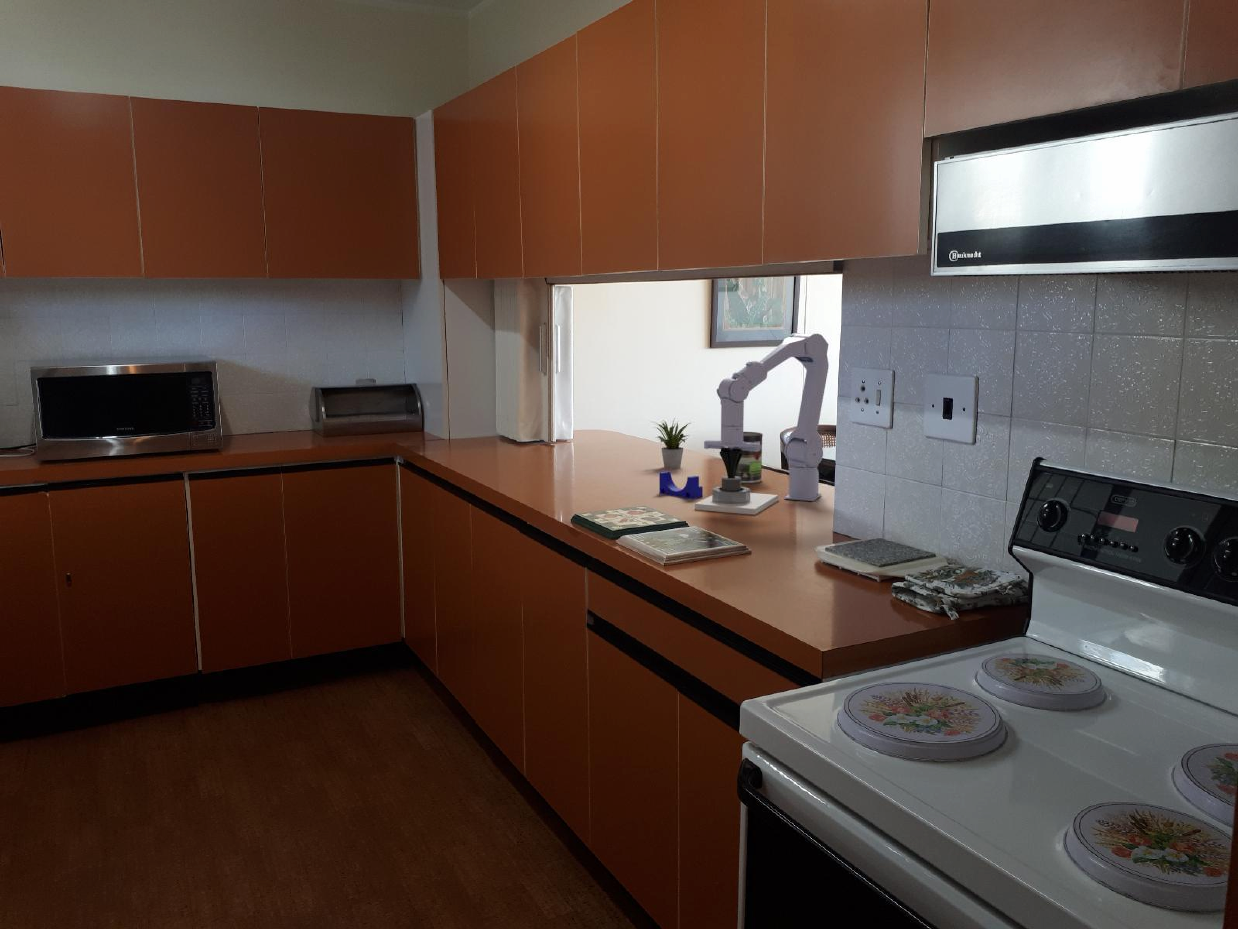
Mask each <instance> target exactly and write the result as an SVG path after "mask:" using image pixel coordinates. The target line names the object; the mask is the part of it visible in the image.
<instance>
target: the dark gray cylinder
mask: <svg viewBox="0 0 1238 929" xmlns="http://www.w3.org/2000/svg"><path fill="white" fill-rule="evenodd" d="M741 487H742V483H741V477H738V476H735V478H728V476H727V475H725V476H724V475H723V476H722V477H721V491H731V492H733V491H741Z"/></svg>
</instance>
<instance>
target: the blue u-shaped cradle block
mask: <svg viewBox="0 0 1238 929" xmlns="http://www.w3.org/2000/svg"><path fill="white" fill-rule="evenodd" d="M658 475H659V481H658V482H659V494H661V495H667V496H671V497H672V496H673V497H678V498H683V499H684V498H685V499H688V500H689V499H690V500H693V499H698V498H703V491H704V490H703V488H704V487H703V486H702V485H700V476H699V475H692V476H691V475H690V476H687V477H686V478H687V479H686V483H685V486H684V487H683V488H679V487H678V486H677V485H676V484H675V482H674V480H673V477H672V472H671V471H667V470H665V471H660V472H659V474H658Z"/></svg>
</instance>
